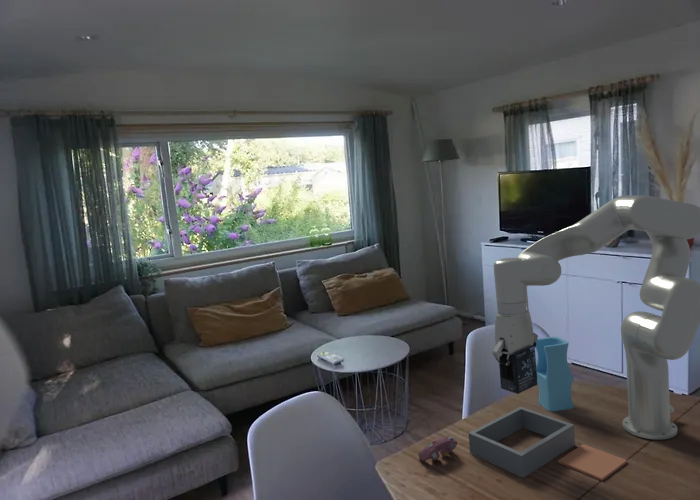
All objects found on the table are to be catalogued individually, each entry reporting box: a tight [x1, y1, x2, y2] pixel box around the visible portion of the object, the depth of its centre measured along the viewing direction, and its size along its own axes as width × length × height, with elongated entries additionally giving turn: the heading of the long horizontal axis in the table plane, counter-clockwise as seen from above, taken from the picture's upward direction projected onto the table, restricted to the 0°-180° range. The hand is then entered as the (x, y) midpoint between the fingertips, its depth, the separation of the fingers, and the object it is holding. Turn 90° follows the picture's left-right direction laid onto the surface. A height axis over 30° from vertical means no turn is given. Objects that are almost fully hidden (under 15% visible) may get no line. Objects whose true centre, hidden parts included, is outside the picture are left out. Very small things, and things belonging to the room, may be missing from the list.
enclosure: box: [468, 406, 576, 479], centre depth 132 cm, size 21×16×6 cm
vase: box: [535, 336, 575, 412], centre depth 154 cm, size 8×8×20 cm
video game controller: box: [417, 435, 458, 462], centre depth 132 cm, size 10×5×7 cm, turn 118°
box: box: [498, 346, 538, 395], centre depth 130 cm, size 8×6×11 cm
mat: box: [557, 443, 628, 481], centre depth 123 cm, size 11×11×1 cm
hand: (518, 373), depth 130 cm, fingers closed on box, 8 cm apart
